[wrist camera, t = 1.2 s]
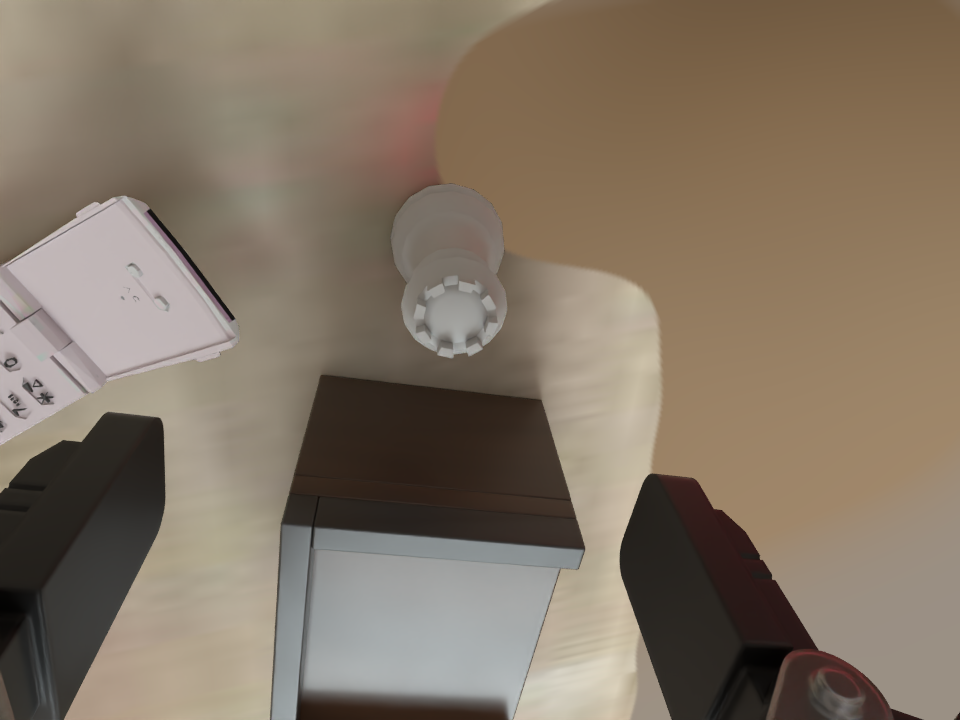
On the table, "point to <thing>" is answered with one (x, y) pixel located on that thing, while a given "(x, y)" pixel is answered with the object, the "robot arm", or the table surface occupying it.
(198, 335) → the mobile phone
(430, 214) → the rook chess piece
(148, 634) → the table surface
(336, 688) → the tray
